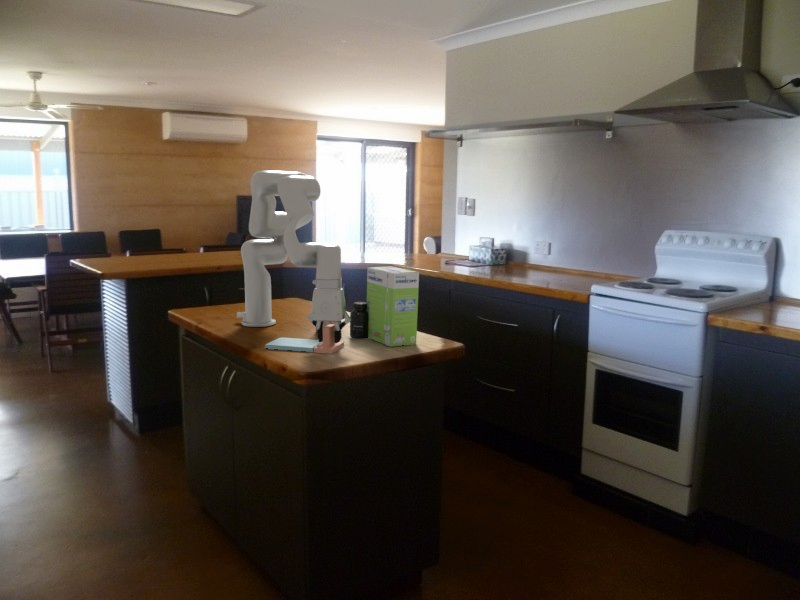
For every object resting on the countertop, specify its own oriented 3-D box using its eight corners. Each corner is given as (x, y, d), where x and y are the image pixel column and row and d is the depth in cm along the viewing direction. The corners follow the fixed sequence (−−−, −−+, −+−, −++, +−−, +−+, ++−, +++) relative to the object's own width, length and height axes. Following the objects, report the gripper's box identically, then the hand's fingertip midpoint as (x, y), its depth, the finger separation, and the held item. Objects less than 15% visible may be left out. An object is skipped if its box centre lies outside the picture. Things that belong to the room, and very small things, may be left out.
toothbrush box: (418, 344, 212) (419, 271, 208) (391, 348, 207) (391, 272, 203) (391, 334, 227) (391, 265, 223) (365, 337, 222) (365, 267, 218)
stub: (313, 352, 200) (313, 328, 199) (326, 344, 211) (326, 322, 209) (332, 353, 199) (332, 330, 197) (344, 345, 209) (344, 323, 208)
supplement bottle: (354, 340, 217) (354, 304, 215) (347, 336, 223) (346, 301, 222) (373, 338, 220) (373, 303, 218) (365, 334, 226) (365, 300, 224)
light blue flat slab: (265, 348, 204) (265, 344, 204) (280, 341, 215) (280, 337, 214) (313, 352, 200) (312, 347, 200) (325, 344, 211) (325, 340, 210)
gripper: (298, 284, 200) (299, 342, 203) (350, 287, 196) (351, 346, 199) (308, 281, 207) (308, 337, 210) (358, 284, 203) (358, 341, 206)
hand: (329, 341), depth 204 cm, fingers open, 4 cm apart
